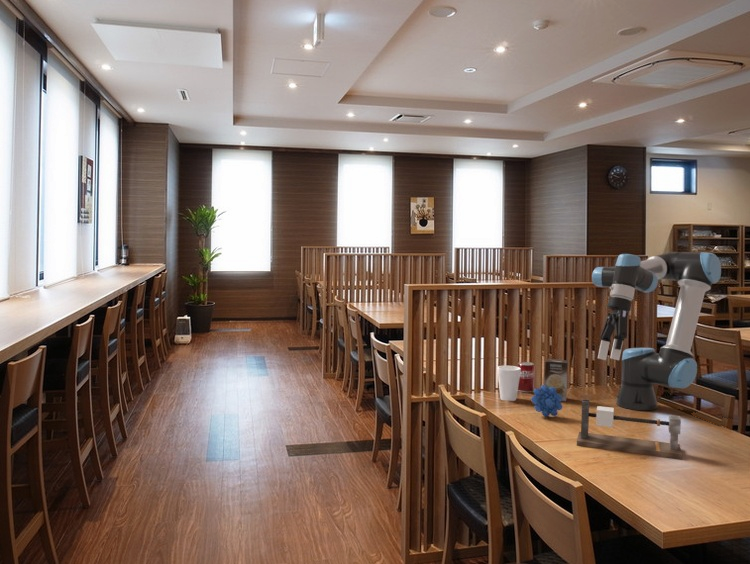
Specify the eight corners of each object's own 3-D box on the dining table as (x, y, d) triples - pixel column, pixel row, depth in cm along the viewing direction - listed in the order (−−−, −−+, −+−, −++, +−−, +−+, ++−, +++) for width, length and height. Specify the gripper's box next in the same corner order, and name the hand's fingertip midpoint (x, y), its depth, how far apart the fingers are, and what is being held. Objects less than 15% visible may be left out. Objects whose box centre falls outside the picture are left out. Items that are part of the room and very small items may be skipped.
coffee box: (543, 399, 248) (544, 361, 247) (544, 395, 254) (545, 358, 253) (566, 401, 245) (567, 362, 244) (566, 397, 251) (568, 359, 250)
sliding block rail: (576, 445, 192) (578, 403, 191) (579, 436, 201) (580, 396, 200) (681, 459, 180) (683, 415, 179) (679, 448, 189) (681, 406, 188)
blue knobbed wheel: (534, 420, 219) (535, 387, 218) (529, 414, 226) (529, 383, 225) (565, 420, 219) (566, 387, 219) (559, 414, 226) (560, 383, 225)
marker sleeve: (596, 425, 192) (596, 409, 191) (596, 421, 196) (597, 406, 196) (612, 427, 190) (613, 411, 189) (613, 423, 194) (613, 407, 194)
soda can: (534, 393, 258) (535, 365, 258) (517, 392, 260) (517, 364, 259) (533, 389, 266) (534, 362, 265) (516, 388, 267) (517, 361, 266)
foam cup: (494, 396, 253) (494, 365, 252) (515, 395, 253) (516, 365, 253) (500, 402, 243) (501, 370, 242) (522, 401, 244) (523, 370, 243)
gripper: (598, 299, 218) (586, 356, 216) (622, 292, 194) (608, 356, 192) (619, 304, 218) (607, 361, 216) (645, 297, 193) (632, 362, 191)
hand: (608, 359), depth 204 cm, fingers open, 13 cm apart
